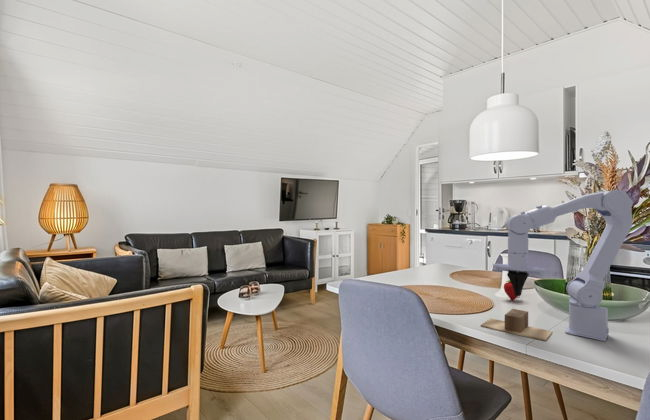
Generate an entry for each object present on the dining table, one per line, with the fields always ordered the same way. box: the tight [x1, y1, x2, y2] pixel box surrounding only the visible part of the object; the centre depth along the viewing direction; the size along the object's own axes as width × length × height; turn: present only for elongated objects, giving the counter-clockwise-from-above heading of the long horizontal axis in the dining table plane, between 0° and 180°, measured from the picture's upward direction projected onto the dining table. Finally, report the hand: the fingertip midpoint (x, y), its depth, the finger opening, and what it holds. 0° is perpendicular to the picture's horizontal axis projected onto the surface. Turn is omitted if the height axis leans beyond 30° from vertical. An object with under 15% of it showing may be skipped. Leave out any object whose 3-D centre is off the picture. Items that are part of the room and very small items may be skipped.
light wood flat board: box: [480, 317, 553, 342], centre depth 107 cm, size 18×9×1 cm, turn 46°
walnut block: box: [504, 308, 529, 333], centre depth 108 cm, size 4×4×9 cm
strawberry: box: [503, 279, 519, 301], centre depth 139 cm, size 6×8×10 cm
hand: (518, 295), depth 109 cm, fingers closed
